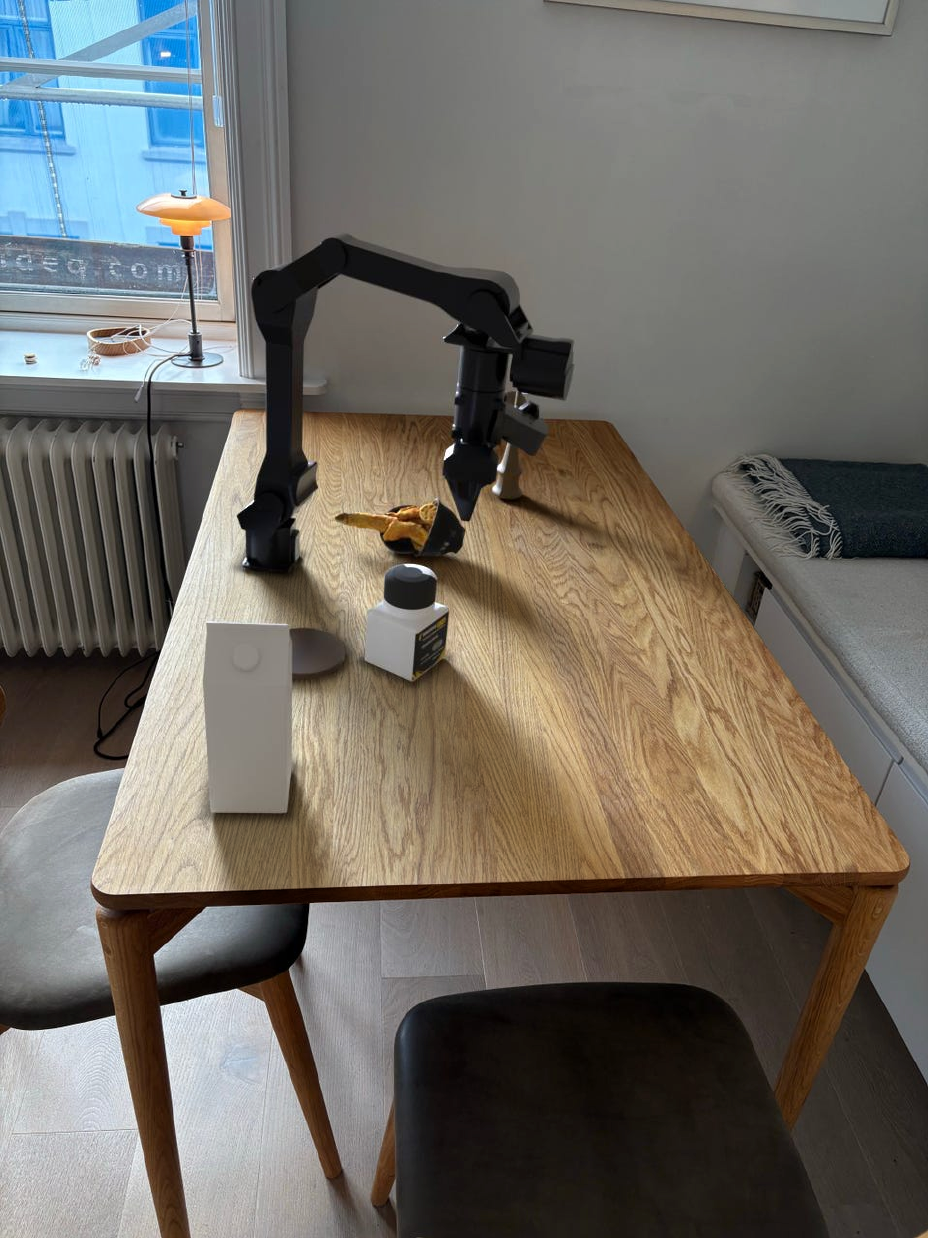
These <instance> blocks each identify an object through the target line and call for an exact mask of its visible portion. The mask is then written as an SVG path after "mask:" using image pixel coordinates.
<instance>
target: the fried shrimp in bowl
mask: <svg viewBox="0 0 928 1238" xmlns="http://www.w3.org/2000/svg"><path fill="white" fill-rule="evenodd" d="M334 521H335V522H337V523H339V524H342V525H345V526H348V527H355V528H357V529H364V530H365V529H368V530H375V531H378V532H379V537H380V540H381V542H382V543H383V544H384V546H385V548H387V549H388V550H389V551H391V552H393V553H397V554H400V555H402V554H403V555H404V554H405V555H406V554H407V555H409V554H413V555H414V557H415V558H419V557H427V558H439V557H443V556H445V555H447V554H450V553H452V554H454V555H457V554H458V553H459V552H460V551H461V549H462V548H463V546H464V539H465V536H466V532H467V530H466V528H465V527H464V526H463V525H462V524H461V520H459V518H458V516H457V515H456V514H455V512H454V511H453V510H452V509H451V508H449V507H448V506H446V505H445V504H443V503H442V502H441V500H440V498H434V499H433V500H432V501H431V503H427V504H424V505H422V507H419V506H417V505H413V504H402V505H398V506H395V507H393V508H391V509H390V510H388V511H387V512H385V513H384V514H383V515H382V514H380V515H379V514H371V513H365V512H351V513H347V512H340V513H337V514H336V515H334Z"/></svg>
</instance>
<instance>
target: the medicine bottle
mask: <svg viewBox="0 0 928 1238" xmlns="http://www.w3.org/2000/svg"><path fill="white" fill-rule="evenodd" d="M383 583H384V584H383V598H382V601H380V602H379V603H378V604H376V605H374V606H373V607H371V608H370V609H368V610H367V612H366V623H365V643H364V644H365V647H364V660H365V662H367V663H368V664H371V665H373V666H375V667H377V668H380V669H382V670H383V671H387V672H389V673H391V674H393V675H396V676H398V677H399V678H402V679H404V680H407V681H409V682H415V681H416V680H418V679H419V677H421V676H422V675H424V674H425V673H427V672H428V671H429V670H430V669H431V668H432V667H434V666H435V665H436V664H437V663H438V662H440V661H441V660H442V659H444V658H445V656H446V650H447V649H446V648H447V640H448V639H447V637H448V629H449V618H450V607H448V606H447V605H444V604H442V603H438V602H436V599H437V598H436V596H437V588H438V577H437V575H436V574H435V573H434V571H433V570H431V569H430V568H429V567H426V566H424V565H420V564H415V563H402V564H397V565H394V566H392V567H391V568H389V569H388V570H387V571H385V574H384V581H383Z"/></svg>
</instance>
